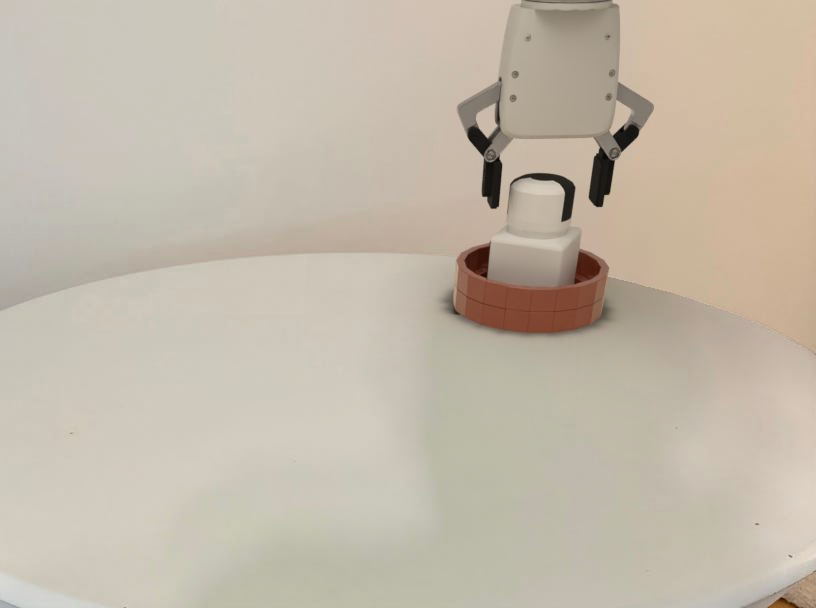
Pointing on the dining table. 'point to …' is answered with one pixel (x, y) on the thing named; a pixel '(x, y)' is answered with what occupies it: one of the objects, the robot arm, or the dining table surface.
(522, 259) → the medicine bottle
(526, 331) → the bowl
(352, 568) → the dining table surface
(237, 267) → the dining table surface
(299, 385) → the dining table surface
